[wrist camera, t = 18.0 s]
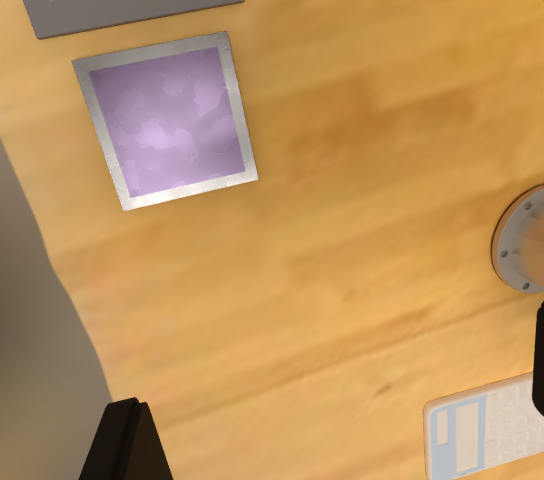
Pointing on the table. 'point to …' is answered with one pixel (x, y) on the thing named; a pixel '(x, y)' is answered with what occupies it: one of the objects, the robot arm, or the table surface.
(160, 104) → the ink pad
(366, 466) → the table surface
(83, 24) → the marked board
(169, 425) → the table surface
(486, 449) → the calculator
